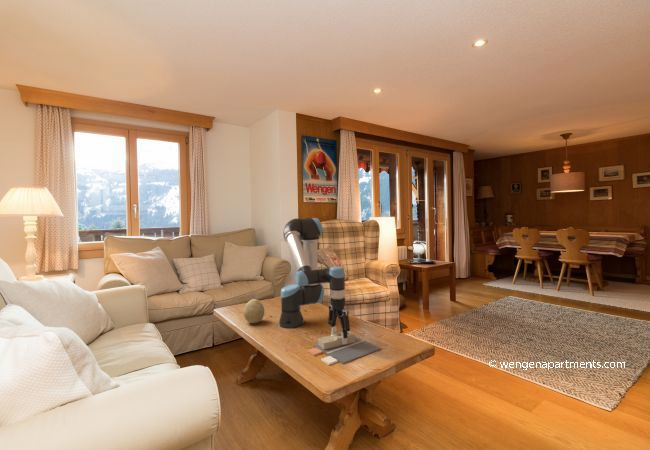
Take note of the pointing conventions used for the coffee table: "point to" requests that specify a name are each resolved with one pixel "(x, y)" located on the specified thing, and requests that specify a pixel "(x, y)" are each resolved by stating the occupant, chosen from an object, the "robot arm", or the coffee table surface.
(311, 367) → the coffee table surface
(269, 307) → the coffee table surface
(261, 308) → the fossilized egg
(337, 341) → the electrical outlet
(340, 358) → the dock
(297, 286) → the robot arm
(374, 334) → the coffee table surface
